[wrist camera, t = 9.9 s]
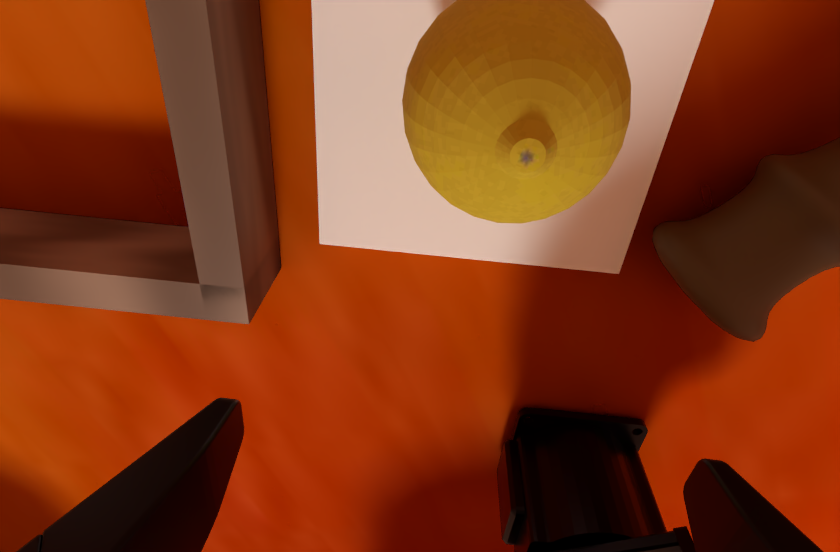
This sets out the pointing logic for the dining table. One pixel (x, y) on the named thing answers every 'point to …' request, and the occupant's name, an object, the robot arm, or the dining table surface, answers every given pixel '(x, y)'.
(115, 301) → the walnut rack
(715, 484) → the robot arm
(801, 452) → the dining table surface
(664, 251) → the kendama
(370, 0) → the tile
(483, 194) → the lemon
